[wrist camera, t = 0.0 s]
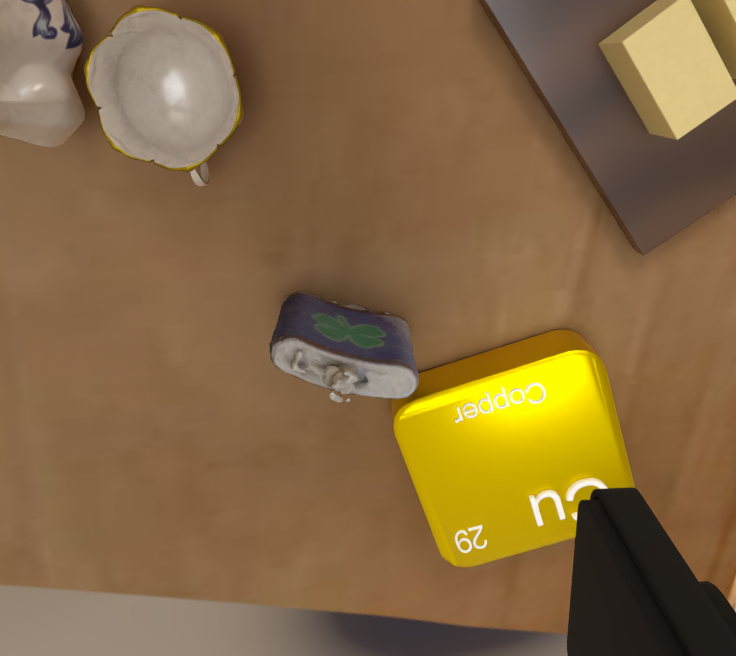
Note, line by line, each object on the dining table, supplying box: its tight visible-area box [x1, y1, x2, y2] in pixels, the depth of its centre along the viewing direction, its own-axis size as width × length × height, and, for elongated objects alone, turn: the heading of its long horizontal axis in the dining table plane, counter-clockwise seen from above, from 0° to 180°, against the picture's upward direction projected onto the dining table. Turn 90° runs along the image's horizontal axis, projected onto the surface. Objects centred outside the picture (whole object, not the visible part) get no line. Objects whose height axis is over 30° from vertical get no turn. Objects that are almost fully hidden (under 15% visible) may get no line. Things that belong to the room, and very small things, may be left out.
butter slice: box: [599, 0, 736, 140], centre depth 39 cm, size 6×4×4 cm, turn 37°
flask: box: [270, 291, 419, 403], centre depth 43 cm, size 9×3×11 cm, turn 74°
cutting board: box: [479, 0, 736, 255], centre depth 41 cm, size 20×18×2 cm
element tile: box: [391, 329, 635, 567], centre depth 49 cm, size 15×15×5 cm
